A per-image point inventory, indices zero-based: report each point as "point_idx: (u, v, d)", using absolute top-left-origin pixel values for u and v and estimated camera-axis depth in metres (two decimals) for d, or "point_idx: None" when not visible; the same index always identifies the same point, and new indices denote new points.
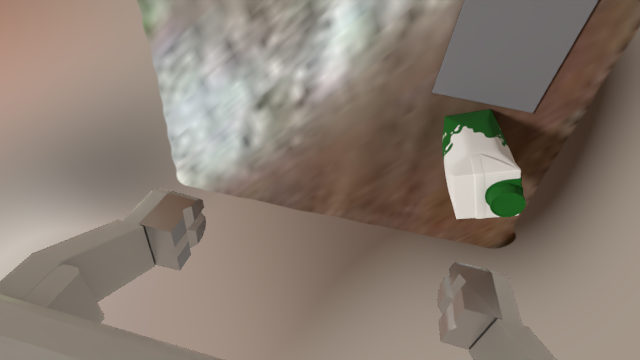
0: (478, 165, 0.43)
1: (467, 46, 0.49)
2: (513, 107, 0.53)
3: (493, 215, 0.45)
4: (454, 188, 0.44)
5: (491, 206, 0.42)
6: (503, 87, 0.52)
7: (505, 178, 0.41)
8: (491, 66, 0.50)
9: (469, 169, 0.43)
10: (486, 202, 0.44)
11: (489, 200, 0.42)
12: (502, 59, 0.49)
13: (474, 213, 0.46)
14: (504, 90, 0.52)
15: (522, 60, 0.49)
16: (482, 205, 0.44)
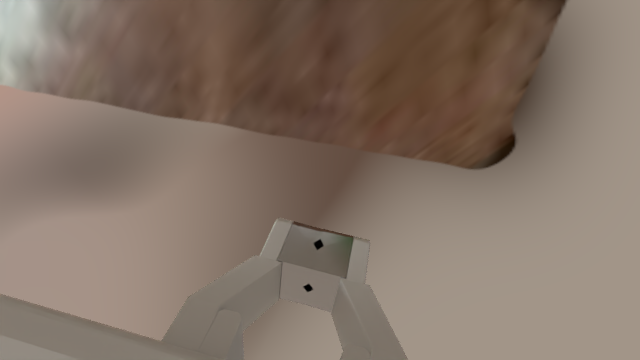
0: None
1: None
2: None
3: None
4: None
5: None
6: None
7: None
8: None
9: None
10: None
11: None
12: None
13: None
14: None
15: None
16: None
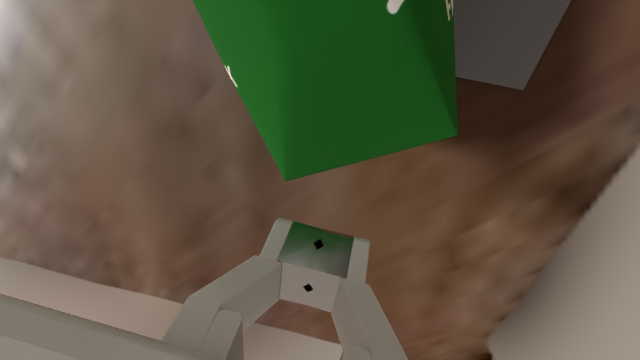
0: None
1: None
2: (464, 73, 0.18)
3: None
4: None
5: None
6: None
7: None
8: None
9: None
10: None
11: None
12: None
13: None
14: None
15: None
16: None
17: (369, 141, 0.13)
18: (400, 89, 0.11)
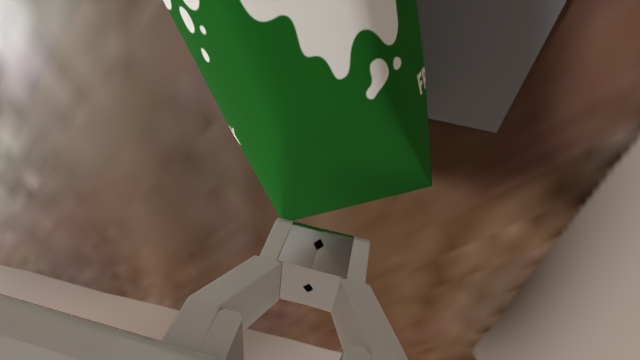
0: None
1: None
2: (444, 117, 0.20)
3: None
4: None
5: None
6: None
7: None
8: None
9: None
10: None
11: None
12: None
13: None
14: None
15: None
16: None
17: (355, 191, 0.15)
18: (380, 153, 0.13)
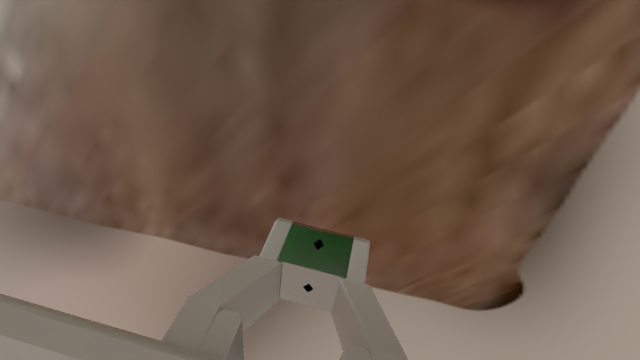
0: None
1: None
2: None
3: None
4: None
5: None
6: None
7: None
8: None
9: None
10: None
11: None
12: None
13: None
14: None
15: None
16: None
17: None
18: None
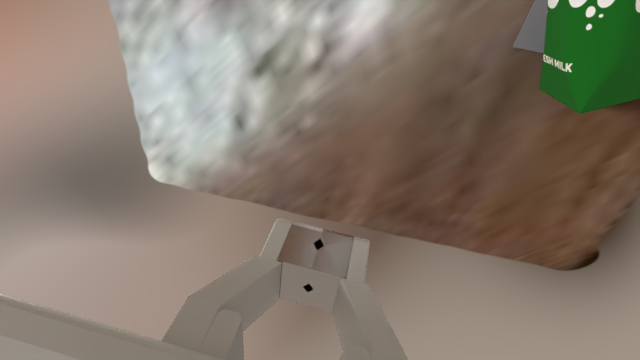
0: None
1: None
2: None
3: None
4: None
5: None
6: None
7: None
8: None
9: None
10: None
11: None
12: None
13: None
14: None
15: None
16: None
17: (625, 95, 0.31)
18: None
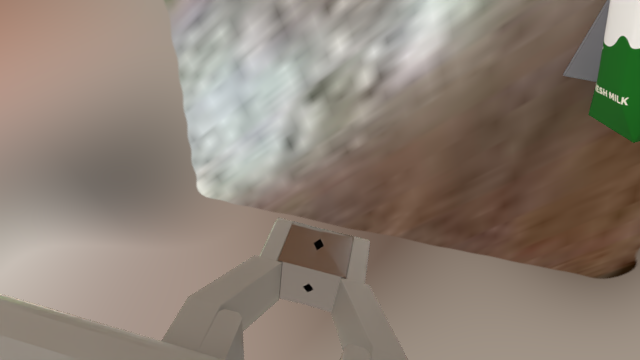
0: None
1: None
2: None
3: None
4: None
5: None
6: None
7: None
8: None
9: None
10: None
11: None
12: None
13: None
14: None
15: None
16: None
17: None
18: None
